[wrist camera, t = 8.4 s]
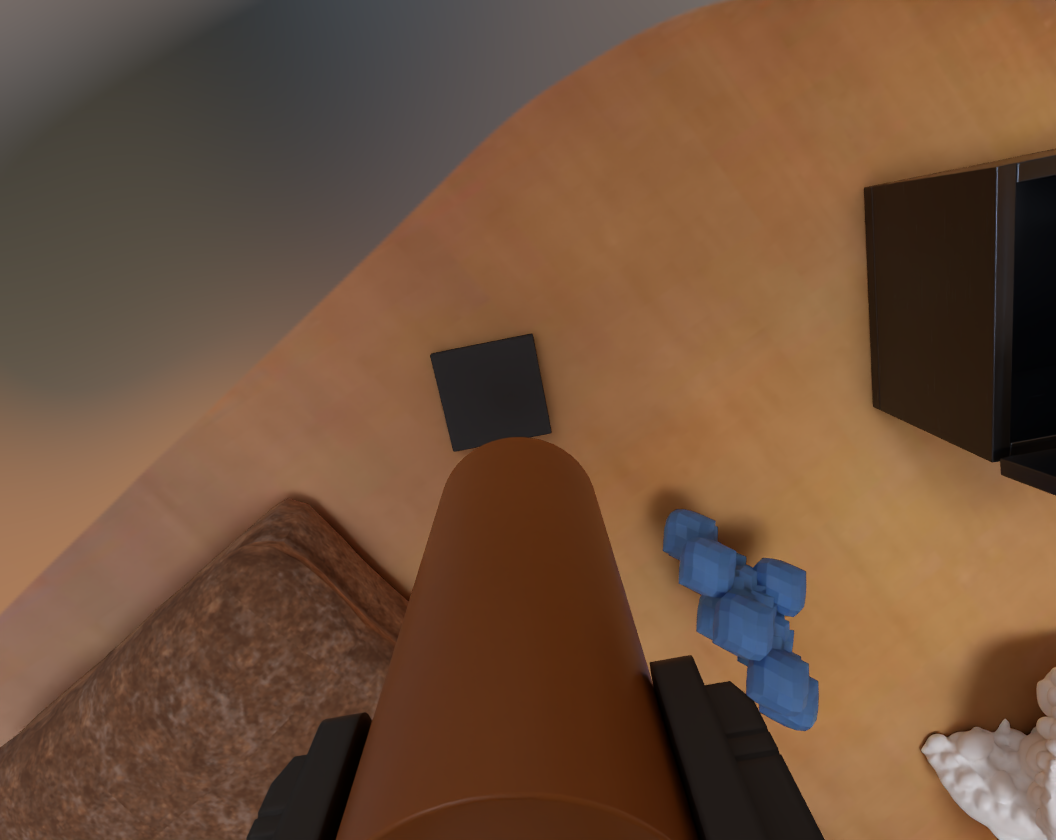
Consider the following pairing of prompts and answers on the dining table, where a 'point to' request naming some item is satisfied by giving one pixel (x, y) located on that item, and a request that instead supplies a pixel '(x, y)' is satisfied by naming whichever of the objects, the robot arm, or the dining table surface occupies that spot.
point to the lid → (1032, 469)
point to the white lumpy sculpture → (1004, 772)
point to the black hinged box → (967, 303)
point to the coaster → (491, 392)
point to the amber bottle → (518, 675)
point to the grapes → (747, 615)
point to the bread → (209, 694)
